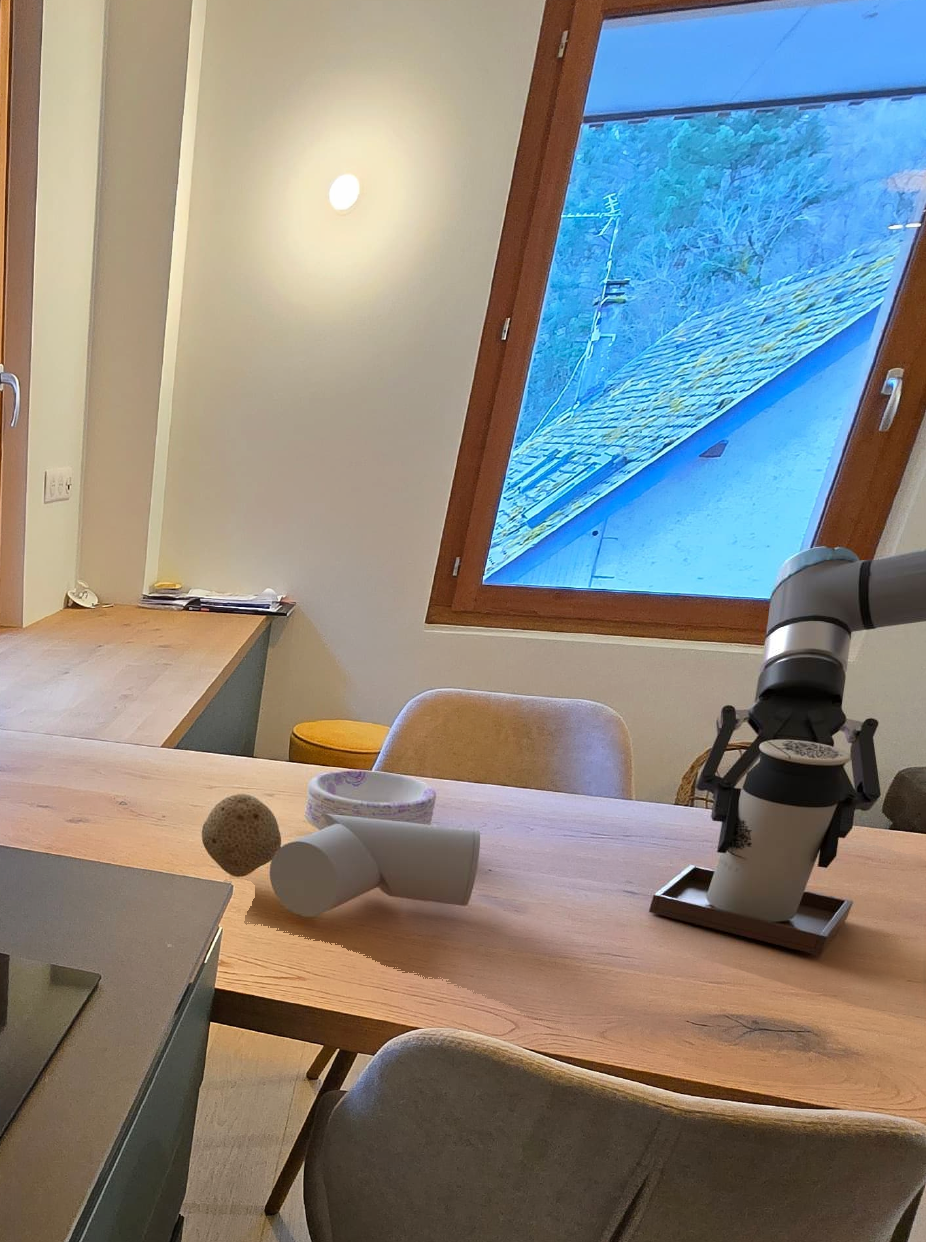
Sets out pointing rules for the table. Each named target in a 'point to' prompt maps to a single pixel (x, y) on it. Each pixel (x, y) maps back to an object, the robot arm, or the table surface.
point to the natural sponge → (241, 834)
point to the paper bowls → (369, 797)
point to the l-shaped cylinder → (375, 864)
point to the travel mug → (778, 829)
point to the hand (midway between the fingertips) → (774, 853)
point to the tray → (802, 932)
